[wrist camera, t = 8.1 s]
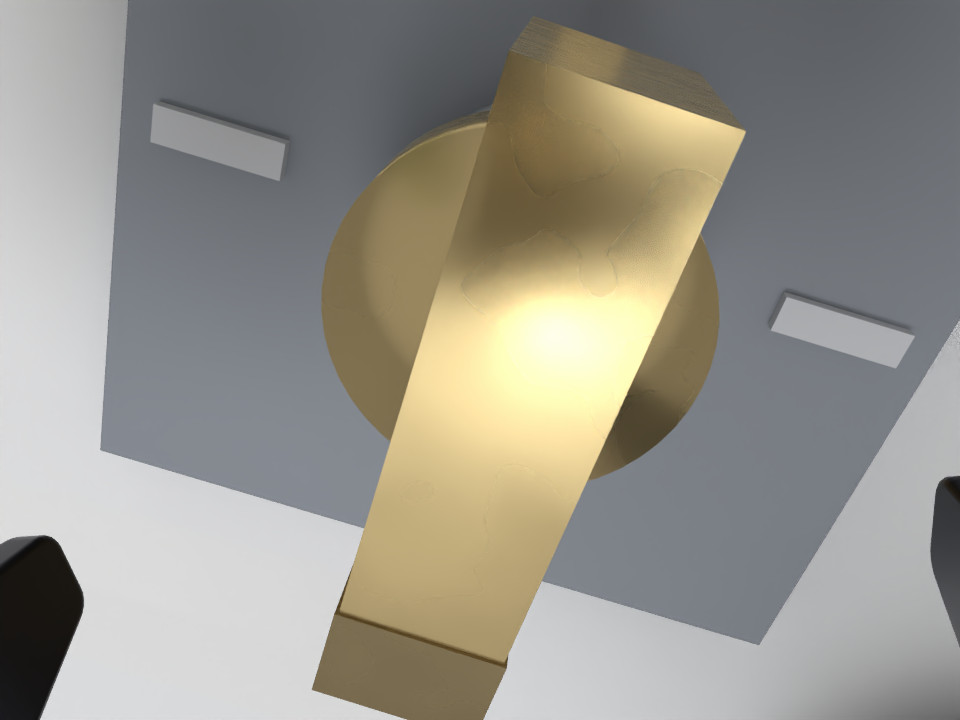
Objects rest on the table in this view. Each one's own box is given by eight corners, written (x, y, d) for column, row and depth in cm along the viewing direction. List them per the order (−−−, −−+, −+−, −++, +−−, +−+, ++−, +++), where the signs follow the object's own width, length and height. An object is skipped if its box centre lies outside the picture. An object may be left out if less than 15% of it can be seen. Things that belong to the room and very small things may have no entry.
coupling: (812, 102, 13) (943, 198, 8) (596, 548, 17) (598, 778, 12) (412, -36, 12) (305, -19, 8) (297, 452, 17) (184, 649, 12)
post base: (752, 617, 23) (782, 742, 19) (119, 429, 22) (31, 522, 19) (1185, -109, 14) (1379, -122, 11) (183, -427, 14) (46, -548, 10)
